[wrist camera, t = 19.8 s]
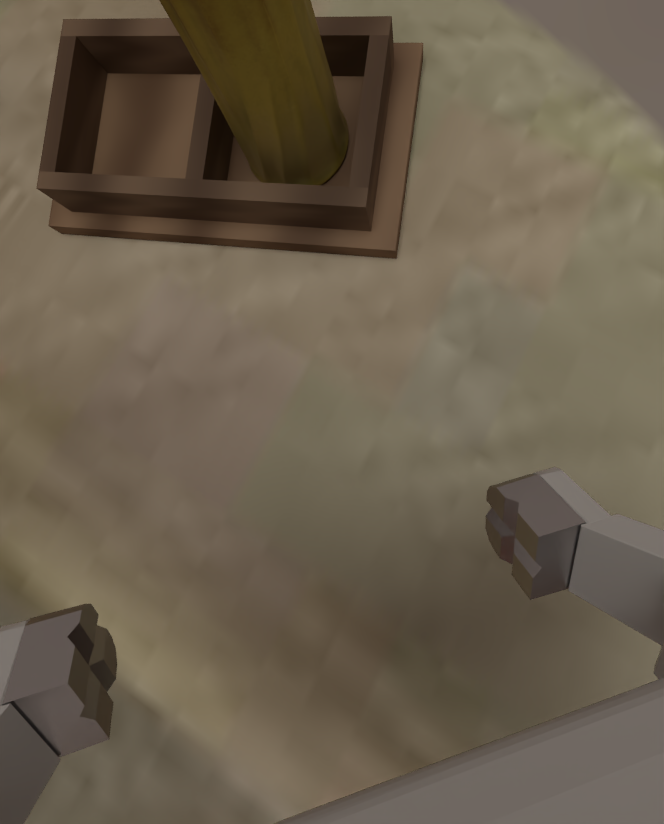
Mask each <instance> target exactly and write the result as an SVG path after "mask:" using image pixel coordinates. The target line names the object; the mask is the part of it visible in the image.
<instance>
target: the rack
mask: <svg viewBox="0 0 664 824" xmlns="http://www.w3.org/2000/svg"><path fill="white" fill-rule="evenodd" d="M315 18H316V22H317V25H318V29H319V33H320V36H321V40H322V44H323V48H324V51H325V55H326V58H327V62H328V65H329V68H330V71H331V75H332V78H333V82H334V85H335V90H336V94H337V99H338V104H339V108H340V109H341V111H342V113H343V114H344V116H345V119H346V122H347V126H348V131H349V141H348V147H347V151H346V155H345V157H344V160H343V162H342V164H341V166H340V167H339V169H338V170H337V171H336V172H335V174H334V175H333V176H332V177H331V178H330V179H329V180H327V181H326V182H325V183H324V184H322V185H302V184H282V183H262V182H261V181H260V180H259V179H258V178H257V177H256V176H255V175H254V174H253V172H252V171H251V169H250V165H249V163H248V161H247V159H246V157H245V155H244V153H243V151H242V150H241V148H240V146H239V144H238V142H237V140H236V138H235V136H234V134H233V132H232V131H231V129H230V127H229V125H228V123H227V121H226V119H225V117H224V115H223V113H222V111H221V110H220V108H219V106H218V104H217V102H216V100H215V98H214V96H213V95H212V93H211V91H210V89H209V87H208V85H207V83H206V81H205V80H204V78H203V76H202V74H201V72H200V70H199V69H198V67H197V65H196V63H195V61H194V60H193V58H192V56H191V54H190V52H189V51H188V49H187V47H186V45H185V43H184V42H183V40H182V38H181V37H180V35H179V33H178V32H177V30H176V28H175V26H174V25H173V23H172V21H171V19H170V18H156V19H63V24H62V31H61V37H60V43H59V50H58V56H57V62H56V69H55V75H54V81H53V88H52V94H51V100H50V106H49V113H48V119H47V125H46V132H45V138H44V144H43V151H42V157H41V163H40V169H39V176H38V182H37V189H38V190H40V191H41V192H43V193H44V194H46V195H47V196H49V197H50V198H52V199H53V200H52V207H51V213H50V219H49V226H50V227H51V228H53V229H55V230H57V231H58V232H60V233H62V234H75V235H89V236H102V237H116V238H129V239H143V240H156V241H170V242H183V243H197V244H210V245H224V246H237V247H251V248H264V249H278V250H291V251H305V252H318V253H331V254H345V255H358V256H372V257H385V258H396V257H397V250H398V242H399V235H400V227H401V220H402V212H403V205H404V197H405V190H406V182H407V174H408V167H409V159H410V152H411V144H412V137H413V129H414V122H415V114H416V107H417V99H418V92H419V84H420V77H421V69H422V62H423V43H393V31H392V16H379V17H315Z"/></svg>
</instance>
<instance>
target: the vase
mask: <svg viewBox="0 0 664 824" xmlns="http://www.w3.org/2000/svg"><path fill="white" fill-rule="evenodd" d="M160 2H161V4H162V5H163V7H164V9H165V11H166V12H167V14H168V16H169V18H170V19H171V21H172V23H173V25H174V26H175V28H176V30H177V32H178V33H179V35H180V37H181V38H182V40H183V42H184V43H185V45H186V47H187V49H188V51H189V52H190V54H191V56H192V58H193V60H194V61H195V63H196V65H197V67H198V69H199V70H200V72H201V74H202V76H203V78H204V80H205V81H206V83H207V85H208V87H209V89H210V91H211V93H212V95H213V96H214V98H215V100H216V102H217V104H218V106H219V108H220V110H221V111H222V113H223V115H224V117H225V119H226V121H227V123H228V125H229V127H230V129H231V131H232V132H233V134H234V136H235V138H236V140H237V142H238V144H239V146H240V148H241V150H242V151H243V153H244V155H245V157H246V159H247V161H248V163H249V165H250V169H251V171H252V172H253V174H254V175H255V176H256V177H257V178H258V179H259V180H260V181H261V182H262V183H282V184H302V185H322V184H324V183H325V182H326V181H327V180H329V179H330V178H331V177H332V176H333V175H334V174H335V172H336V171H337V170H338V169H339V167H340V166H341V164H342V162H343V160H344V157H345V155H346V151H347V147H348V141H349V131H348V126H347V122H346V119H345V116H344V114H343V113H342V111H341V109H340V108H339V104H338V99H337V94H336V90H335V85H334V82H333V78H332V75H331V71H330V68H329V65H328V62H327V58H326V55H325V51H324V48H323V44H322V40H321V36H320V33H319V29H318V25H317V22H316V18H315V15H314V11H313V8H312V4H311V1H310V0H160Z"/></svg>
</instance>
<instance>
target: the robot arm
mask: <svg viewBox="0 0 664 824" xmlns="http://www.w3.org/2000/svg"><path fill="white" fill-rule="evenodd" d="M487 502H488V503H489V504H490V506H491V507H492V508H491V509H490V511H489V512H488V513H487V515H486V531H487V535H488V538H489V541H490V543H491V545H492V547H493V549H494V550H495V552H496V553H497V555H498V556H499V558H500V559H503V560H505V561H507V562H509V563H511V564H513V565H512V576H513V577H514V578H515V580H516V581H517V583H518V584H519V585H520V587H521V588H522V589H523V591H524V592H525V593H526V595H527V596H528V598H529V599H530V600H531V599H535V598H538V597H541V596H545V595H548V594H551V593H555V592H558V591H561V590H565V589H568V588H569V589H568V591H570V592H571V593H573V594H575V595H577V596H578V597H580V598H582V599H583V600H585V601H587V602H588V603H590V604H592V605H594V606H595V607H597V608H599V609H600V610H602V611H604V612H605V613H607V614H609V615H611V616H612V617H614V618H616V619H617V620H619V621H621V622H623V623H624V624H626V625H628V626H629V627H631V628H633V629H634V630H636V631H638V632H640V633H641V634H643V635H645V636H646V637H648V638H650V639H651V640H653V641H655V642H657V643H658V644H660V645H662V648H661V650H660V653H659V656H658V658H657V661H656V664H655V668H654V674H655V675H656V677H657V678H658V679H659V680H656V681H654V682H651V683H648V684H646V685H643V686H640V687H637V688H635V689H632V690H629V691H627V692H624V693H621V694H619V695H616V696H613V697H611V698H608V699H605V700H603V701H600V702H597V703H595V704H592V705H589V706H587V707H584V708H581V709H579V710H576V711H573V712H570V713H568V714H565V715H562V716H560V717H557V718H554V719H552V720H549V721H546V722H544V723H541V724H538V725H536V726H533V727H530V728H528V729H525V730H522V731H520V732H517V733H514V734H512V735H509V736H506V737H503V738H501V739H498V740H495V741H493V742H490V743H487V744H485V745H482V746H479V747H477V748H474V749H471V750H469V751H466V752H463V753H461V754H458V755H455V756H453V757H450V758H447V759H444V760H442V761H439V762H436V763H434V764H431V765H428V766H426V767H423V768H420V769H418V770H415V771H412V772H410V773H407V774H404V775H402V776H399V777H396V778H394V779H391V780H388V781H386V782H383V783H380V784H377V785H375V786H372V787H369V788H367V789H364V790H361V791H359V792H356V793H353V794H351V795H348V796H345V797H343V798H340V799H337V800H335V801H332V802H329V803H327V804H324V805H321V806H319V807H316V808H313V809H311V810H308V811H305V812H302V813H300V814H297V815H294V816H292V817H289V818H286V819H284V820H281V821H278V822H276V823H273V824H664V530H661V529H659V528H656V527H653V526H650V525H647V524H645V523H642V522H639V521H636V520H633V519H631V518H628V517H625V516H622V515H619V514H615V515H612V516H611V515H610V514H609V513H608V512H607V511H606V510H604V509H603V508H602V507H601V506H600V505H599V504H598V503H597V502H596V501H595V500H594V499H593V498H591V497H590V496H589V495H588V494H587V493H586V492H585V491H584V490H583V489H582V488H581V487H580V486H578V485H577V484H576V483H575V482H574V481H573V480H572V479H571V478H570V477H569V476H568V475H567V474H566V473H564V472H563V471H562V470H561V469H559V468H557V467H552V468H549V469H546V470H542V471H539V472H536V473H533V474H529V475H525V476H522V477H519V478H515V479H512V480H509V481H505V482H502V483H499V484H495V485H492V486H490V487H489V489H488V491H487ZM97 621H98V613H97V612H96V610H95V609H94V607H93V606H92V604H83V605H79V606H76V607H72V608H68V609H64V610H61V611H57V612H53V613H49V614H45V615H42V616H38V617H34V618H31V619H28V620H25V621H21V622H17V623H13V624H10V625H6V626H2V627H1V628H0V824H24V822H25V820H26V819H27V817H28V815H29V814H30V812H31V810H32V808H33V807H34V805H35V803H36V801H37V800H38V798H39V796H40V795H41V793H42V791H43V789H44V788H45V786H46V784H47V782H48V781H49V779H50V777H51V776H52V774H53V772H54V770H55V769H56V767H57V765H58V764H59V762H60V758H59V757H61V756H64V755H67V754H70V753H72V752H75V751H78V750H81V749H84V748H86V747H89V746H92V745H95V744H97V743H100V742H103V741H106V740H108V739H109V738H110V729H111V720H112V711H113V701H112V699H111V698H110V696H109V695H108V693H107V691H108V690H109V688H110V687H111V685H112V684H113V682H114V681H115V679H116V671H117V658H116V648H115V645H114V642H113V639H112V637H111V635H110V633H109V631H108V630H107V629H106V628H103V627H100V626H98V625H97Z"/></svg>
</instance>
